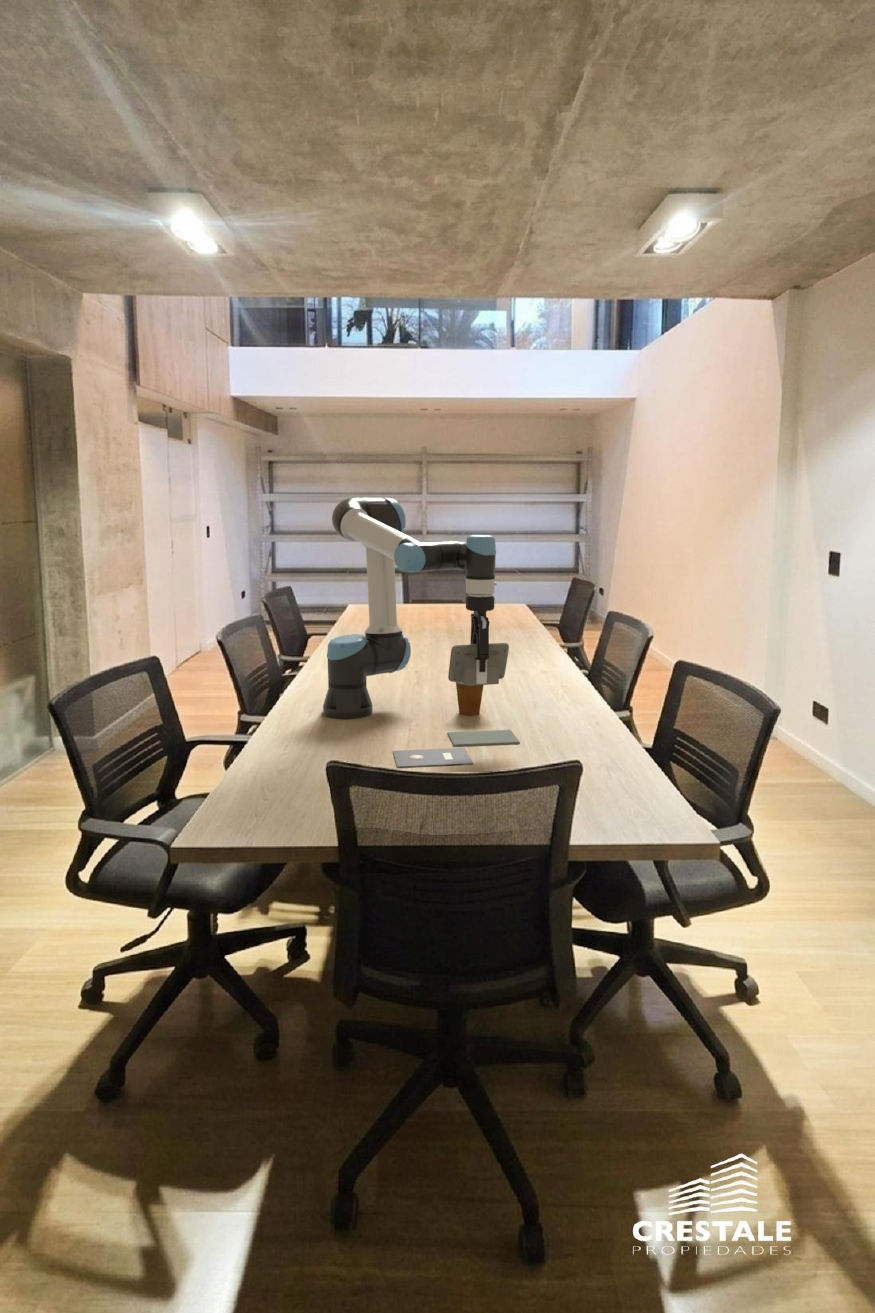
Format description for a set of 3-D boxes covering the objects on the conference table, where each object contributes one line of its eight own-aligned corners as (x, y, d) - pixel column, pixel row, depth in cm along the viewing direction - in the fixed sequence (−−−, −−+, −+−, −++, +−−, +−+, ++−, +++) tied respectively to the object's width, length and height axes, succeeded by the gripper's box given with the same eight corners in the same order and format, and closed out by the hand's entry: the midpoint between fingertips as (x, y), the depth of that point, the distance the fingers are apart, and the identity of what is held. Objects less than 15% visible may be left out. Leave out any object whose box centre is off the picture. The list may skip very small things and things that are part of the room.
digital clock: (505, 678, 211) (506, 639, 209) (511, 685, 202) (511, 645, 200) (447, 678, 210) (447, 640, 208) (449, 686, 201) (449, 646, 199)
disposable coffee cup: (482, 717, 231) (483, 679, 229) (451, 716, 233) (451, 677, 230) (486, 709, 240) (487, 672, 238) (456, 707, 242) (457, 670, 240)
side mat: (453, 746, 205) (453, 744, 204) (447, 733, 215) (447, 732, 215) (519, 743, 207) (519, 741, 207) (510, 731, 218) (510, 729, 218)
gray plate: (397, 767, 188) (397, 766, 188) (392, 751, 200) (392, 750, 200) (473, 764, 191) (473, 763, 191) (464, 748, 202) (464, 747, 202)
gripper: (502, 599, 192) (500, 688, 196) (487, 590, 211) (485, 671, 216) (472, 600, 191) (471, 689, 196) (460, 590, 211) (459, 671, 215)
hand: (478, 679), depth 206 cm, fingers closed on digital clock, 7 cm apart
